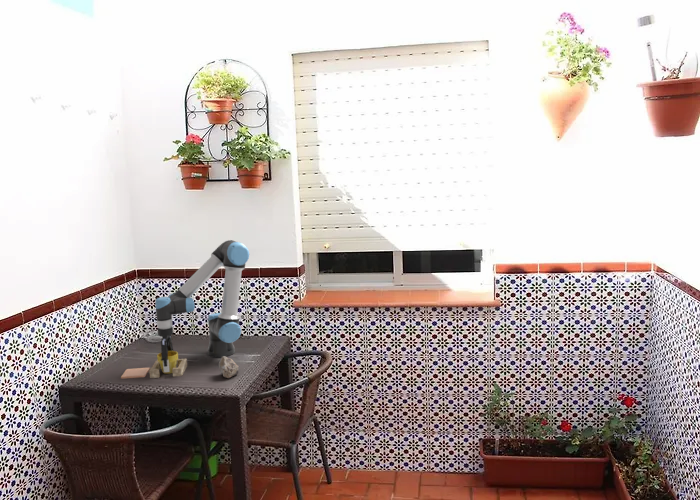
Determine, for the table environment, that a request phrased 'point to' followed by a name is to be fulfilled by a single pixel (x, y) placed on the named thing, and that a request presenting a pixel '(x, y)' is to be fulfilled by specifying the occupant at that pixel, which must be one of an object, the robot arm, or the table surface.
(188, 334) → the table surface
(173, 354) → the plant pot
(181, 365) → the flower pot holder
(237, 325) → the robot arm
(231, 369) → the rock
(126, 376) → the tile
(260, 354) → the table surface
